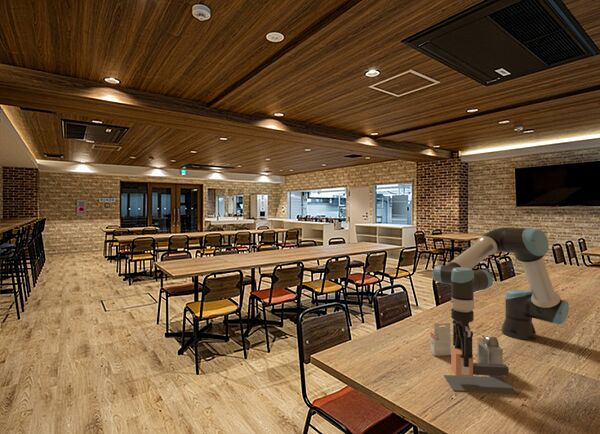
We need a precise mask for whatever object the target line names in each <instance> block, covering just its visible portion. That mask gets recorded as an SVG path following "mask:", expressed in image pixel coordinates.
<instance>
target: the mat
mask: <svg viewBox="0 0 600 434" xmlns="http://www.w3.org/2000/svg"><path fill="white" fill-rule="evenodd" d="M443 377H444V379H445V380H446V382H447V383H448V385H449V386H450V388H451V389H452V391H453V392H462V393H463V392H466V393H467V392H470V393H484V394H485V393H488V394H513V395H518V394H519V392H518V391H517V390H516V389H515V388H514V387H513V386H512V385H511V384H510V383H509V382H508V381H507V380H506V379H505V377H504V376H503V377H489V376H482V375H473V376H457V375H455V374H454V375H452V374H448V375H447V374H444V375H443Z"/></svg>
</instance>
